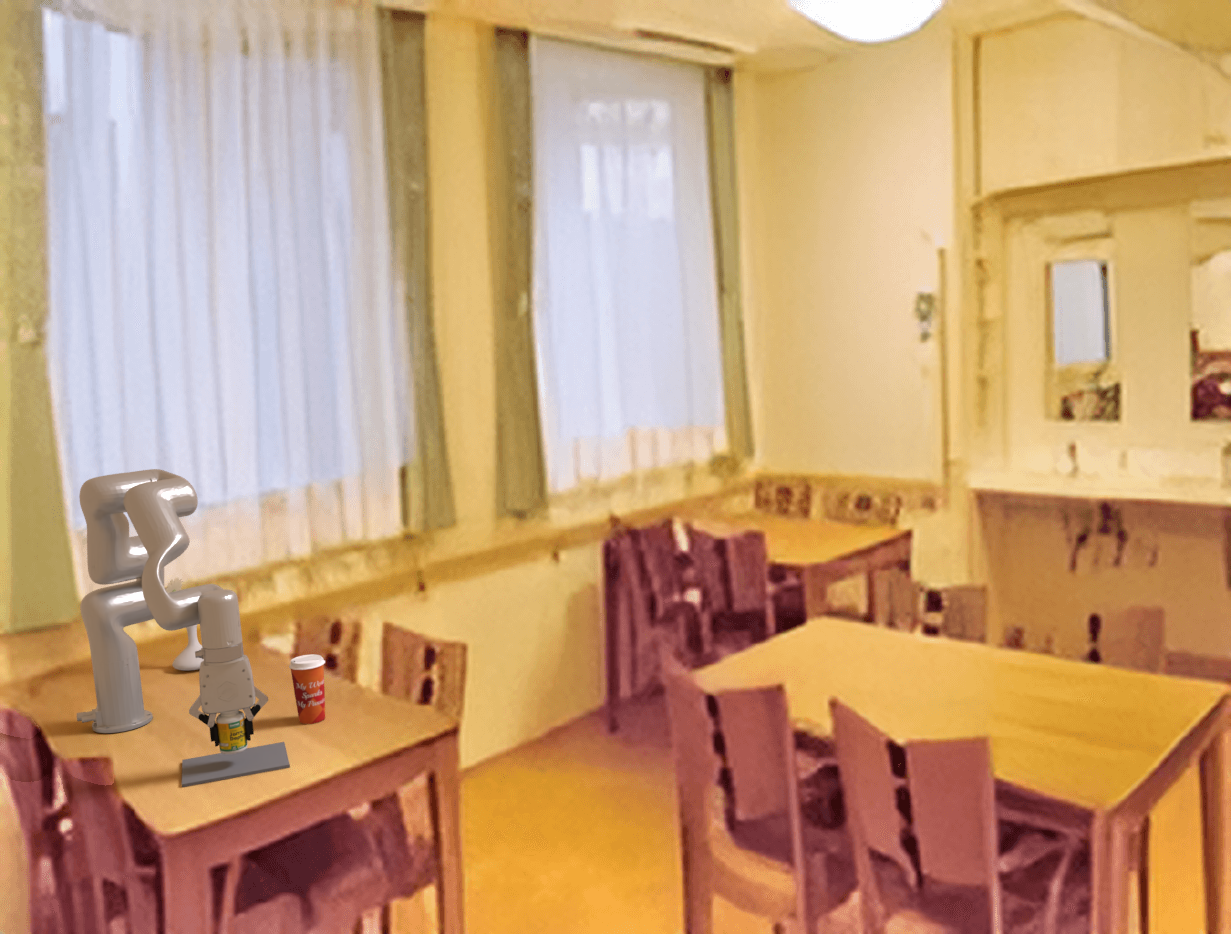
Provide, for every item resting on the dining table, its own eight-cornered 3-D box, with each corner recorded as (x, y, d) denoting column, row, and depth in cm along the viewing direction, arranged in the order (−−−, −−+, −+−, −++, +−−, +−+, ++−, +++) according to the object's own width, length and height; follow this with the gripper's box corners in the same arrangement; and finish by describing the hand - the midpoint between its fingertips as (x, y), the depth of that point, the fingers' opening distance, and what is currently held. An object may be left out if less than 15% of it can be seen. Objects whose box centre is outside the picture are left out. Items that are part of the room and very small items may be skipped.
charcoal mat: (182, 787, 215) (181, 784, 215) (182, 762, 228) (182, 759, 228) (289, 767, 222) (289, 764, 221) (284, 744, 235) (284, 741, 235)
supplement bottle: (236, 743, 227) (231, 697, 226) (253, 747, 224) (248, 701, 223) (213, 752, 223) (208, 706, 221) (231, 757, 220) (226, 709, 218)
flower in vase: (202, 659, 304) (192, 569, 301) (227, 664, 297) (217, 572, 294) (158, 672, 294) (147, 579, 291) (183, 678, 287) (173, 583, 284)
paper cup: (298, 728, 244) (292, 666, 242) (291, 718, 251) (285, 658, 249) (334, 720, 248) (328, 659, 246) (326, 711, 254) (320, 651, 253)
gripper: (176, 665, 214) (187, 755, 217) (269, 650, 220) (278, 739, 223) (177, 655, 221) (187, 743, 224) (267, 641, 227) (276, 727, 230)
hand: (232, 740), depth 223 cm, fingers closed on supplement bottle, 5 cm apart
